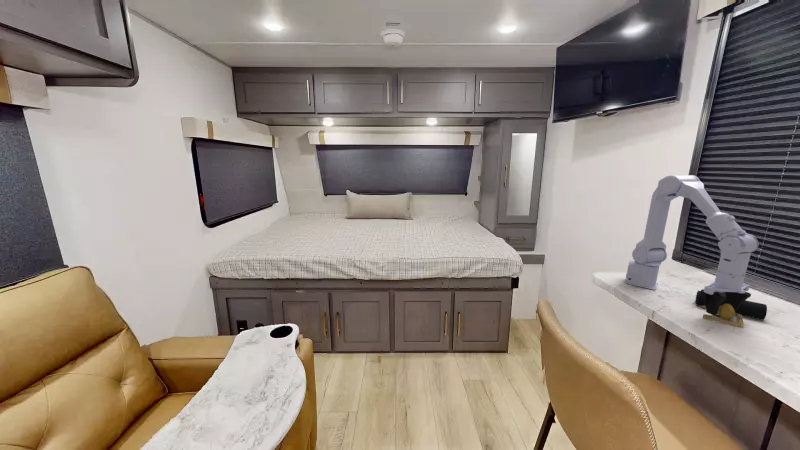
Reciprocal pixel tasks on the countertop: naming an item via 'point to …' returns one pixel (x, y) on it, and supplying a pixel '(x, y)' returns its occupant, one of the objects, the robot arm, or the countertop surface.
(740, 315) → the u-shaped bracket
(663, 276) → the countertop surface
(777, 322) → the countertop surface
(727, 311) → the knob
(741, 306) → the pipe connector
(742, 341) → the countertop surface
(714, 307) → the robot arm
